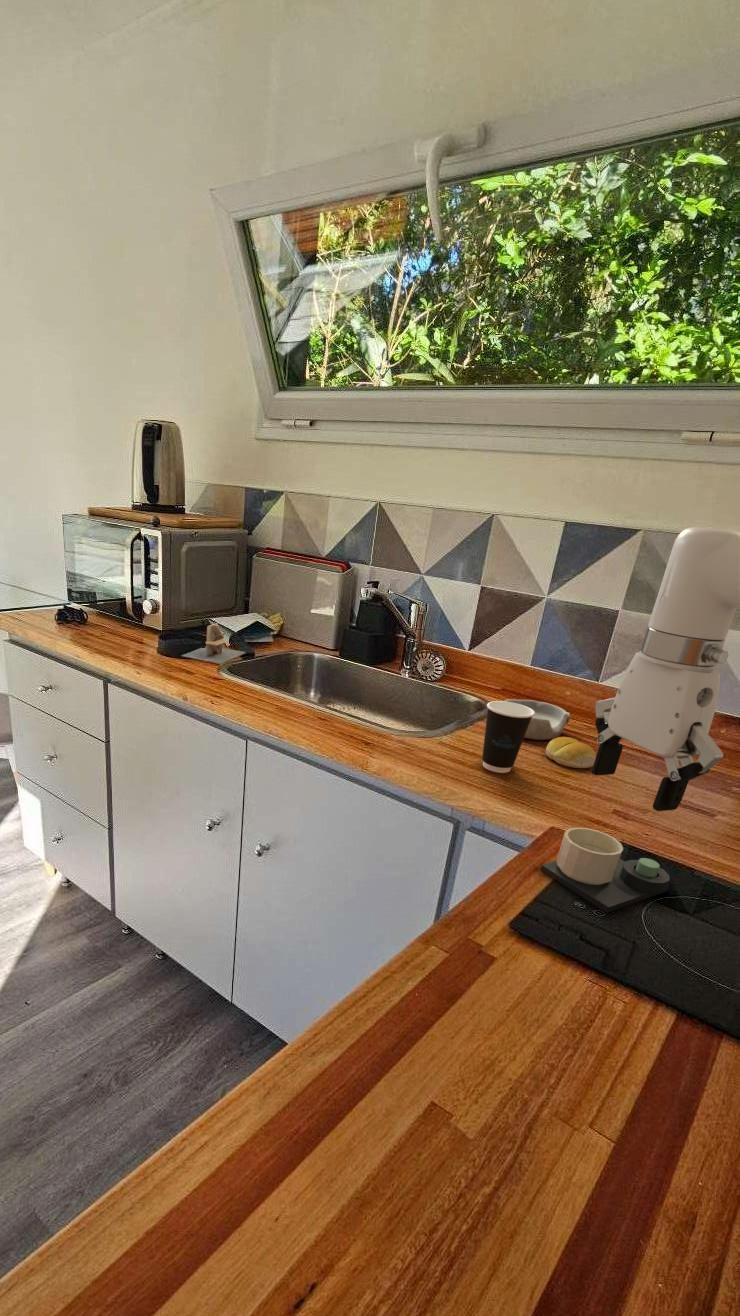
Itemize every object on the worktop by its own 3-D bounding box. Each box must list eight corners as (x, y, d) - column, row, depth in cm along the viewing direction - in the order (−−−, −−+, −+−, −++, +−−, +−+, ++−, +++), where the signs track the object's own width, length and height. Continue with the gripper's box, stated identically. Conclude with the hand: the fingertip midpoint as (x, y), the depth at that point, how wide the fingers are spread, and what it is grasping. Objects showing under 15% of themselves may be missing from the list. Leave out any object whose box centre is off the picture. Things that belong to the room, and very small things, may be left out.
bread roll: (570, 750, 130) (575, 731, 128) (601, 768, 122) (608, 748, 120) (534, 751, 127) (539, 731, 126) (564, 770, 119) (570, 749, 118)
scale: (599, 853, 92) (604, 837, 91) (672, 894, 84) (678, 877, 83) (539, 870, 86) (544, 854, 85) (611, 916, 78) (617, 898, 77)
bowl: (578, 854, 89) (588, 823, 87) (623, 880, 84) (634, 848, 82) (544, 863, 86) (553, 832, 84) (588, 891, 81) (599, 859, 79)
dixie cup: (489, 777, 113) (504, 716, 108) (465, 759, 120) (478, 700, 115) (528, 775, 115) (544, 715, 111) (502, 757, 122) (516, 700, 118)
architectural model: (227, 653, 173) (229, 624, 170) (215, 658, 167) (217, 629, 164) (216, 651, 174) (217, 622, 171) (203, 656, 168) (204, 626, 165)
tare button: (642, 866, 85) (646, 856, 84) (660, 876, 83) (664, 865, 82) (631, 870, 84) (635, 859, 83) (648, 880, 82) (652, 869, 81)
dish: (567, 730, 141) (574, 708, 139) (555, 748, 130) (561, 724, 128) (500, 714, 147) (505, 692, 145) (482, 729, 136) (487, 706, 134)
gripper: (779, 671, 66) (717, 822, 73) (644, 631, 81) (604, 761, 88) (724, 671, 64) (666, 827, 71) (596, 630, 79) (558, 763, 86)
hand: (631, 790), depth 80 cm, fingers open, 9 cm apart
